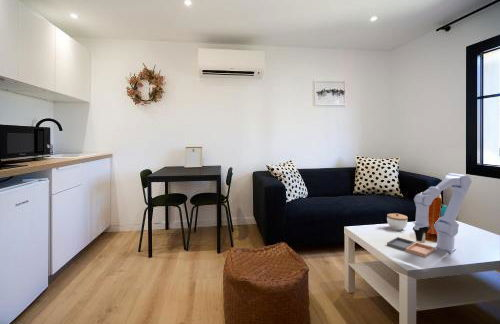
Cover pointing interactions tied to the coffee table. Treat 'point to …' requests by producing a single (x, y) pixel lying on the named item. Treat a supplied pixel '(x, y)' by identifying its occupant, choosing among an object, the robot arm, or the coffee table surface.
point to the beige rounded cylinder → (422, 239)
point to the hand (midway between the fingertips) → (420, 239)
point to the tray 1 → (400, 243)
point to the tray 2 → (420, 249)
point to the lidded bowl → (397, 221)
